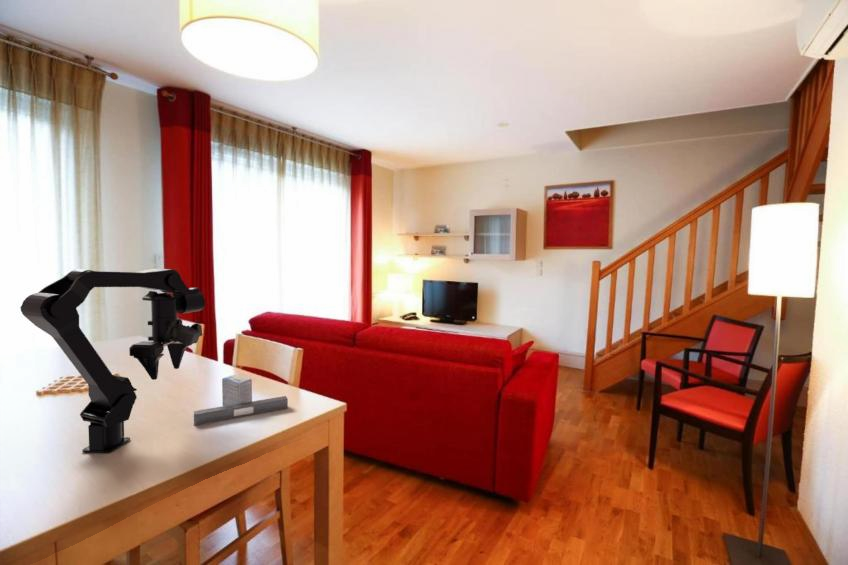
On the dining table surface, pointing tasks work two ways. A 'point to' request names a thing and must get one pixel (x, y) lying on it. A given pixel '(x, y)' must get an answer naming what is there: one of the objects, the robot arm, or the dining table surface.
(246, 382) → the medicine box
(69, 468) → the dining table surface
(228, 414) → the rail
